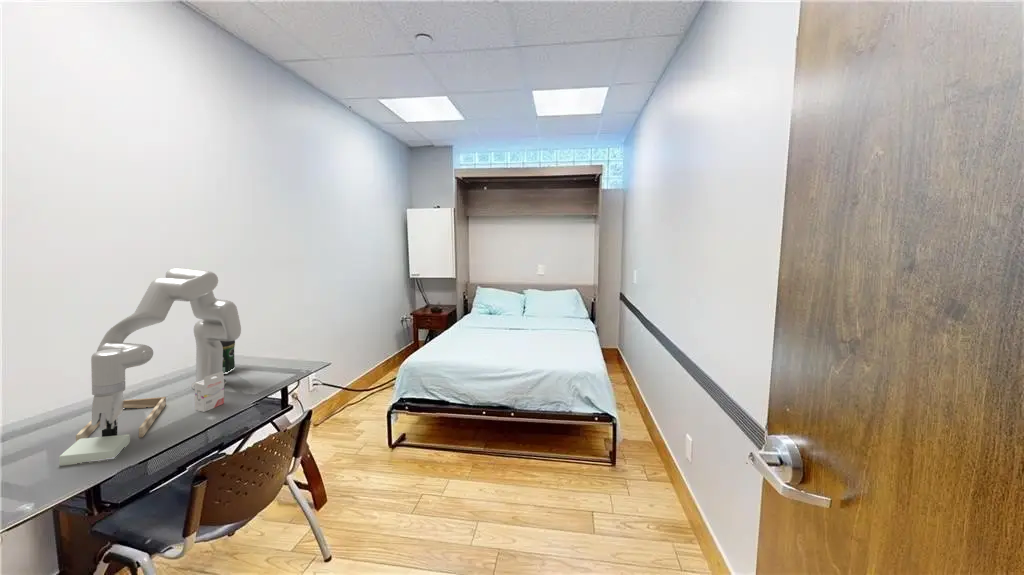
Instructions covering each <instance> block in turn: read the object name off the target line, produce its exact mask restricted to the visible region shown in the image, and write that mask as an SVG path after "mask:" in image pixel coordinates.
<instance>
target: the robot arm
mask: <svg viewBox="0 0 1024 575" xmlns="http://www.w3.org/2000/svg"><path fill="white" fill-rule="evenodd" d="M218 283H219V278H218V276H217V274H216V273H215V272H213V271H210V270H202V269H191V268H185V267H184V268H181V267H174V268H171V269H168V270H167V271H166V273H165V277H158V278H155V279H153V280H152V281H151V282H150V284H149V286H148V287H147V289H146V292H145V293H144V295H143V296H142V298H141V300H140V302H139V304H138V305H137V307H136V310H135V311H134V312H133V313H132V314H131V315H128V316H127V317H125V318H122V319H121V320H120V321H119V322H117V323H116V324H114V325H113V326H112V327H110V328H109V330H107V331H106V333H105V335H104V336H103V338H102V339H101V341H100V342H99V345H98V347H97V349H96V352H94V353H93V354H92V355H91V358H90V359H91V360H90V363H91V369H90V370H91V395H92V396H93V400H92V406H91V409H92V410H91V420H92V421H91V420H90V421H91V424H92V425H96V424H97V423H98V422H99V421H100V425H99V430H101V437H105V436H116V435H118V422H119V421H118V420H119V416H120V415H121V414H122V413H123V412H124V410H123V405H124V402H123V400H124V391H126V370H127V369H130V368H134V367H140V366H142V365H145V364H147V363H148V362H149V361H151V359H153V357H154V349H153V348H152V347H151V346H149V345H146V344H142V343H141V344H140V343H131V342H124V341H125V340H126V339H127V338H128V337H129V336H130V335H131V334H132V333H134V332H136V331H138V330H140V329H144V328H148V327H150V326H153V325H154V326H155V325H158V324H160V323H162V322H164V321H165V320H166V318H167V316H168V313H169V312H170V310H171V308H172V305H173V304H174V303H175V301H176V302H189V304H190V307H191V310H192V314H193V316H194V317H195V318H196V319H199V320H197V322H196V323H195V324H194V325H193V335H194V338H195V348H196V352H195V353H196V354H195V355H196V356H195V381H193V382H191V389H193V390H195V383H196V382H199V381H202V380H204V377H207V376H210V375H213V374H216V373H219V372H222V366H223V346H222V344H221V342H220V341H234V340H235V341H236V340H238V339H239V338H240V337H241V334H242V326H241V320H240V315H239V312H238V308H237V306H236V304H235V303H234V302H233V301H231V300H227V299H217V297H215V294H214V290H215V289H216V288H217V286H218ZM213 377H214V376H213ZM225 385H227V380H226V379H225V378H224V386H225Z"/></svg>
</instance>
